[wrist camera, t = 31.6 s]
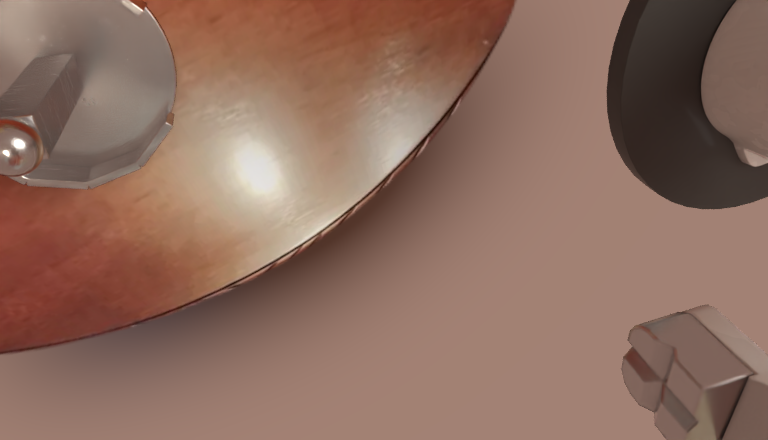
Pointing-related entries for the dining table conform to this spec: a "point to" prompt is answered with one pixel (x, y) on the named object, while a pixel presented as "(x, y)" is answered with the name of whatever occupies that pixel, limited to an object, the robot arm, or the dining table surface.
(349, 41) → the dining table surface
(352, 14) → the dining table surface
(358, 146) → the dining table surface
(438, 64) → the dining table surface
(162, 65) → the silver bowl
